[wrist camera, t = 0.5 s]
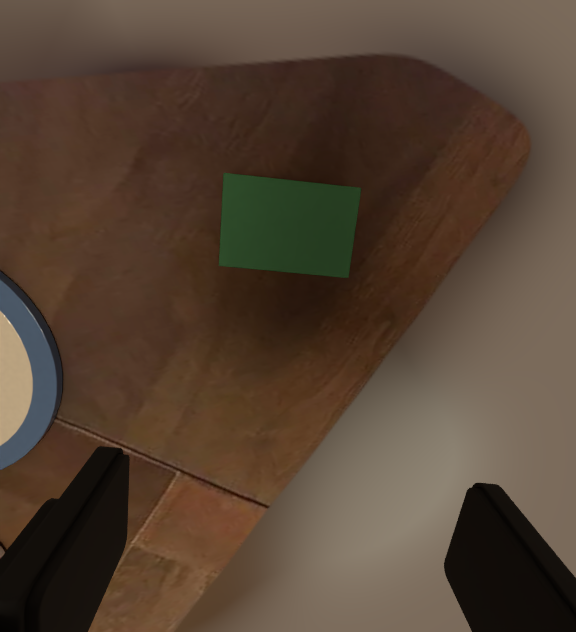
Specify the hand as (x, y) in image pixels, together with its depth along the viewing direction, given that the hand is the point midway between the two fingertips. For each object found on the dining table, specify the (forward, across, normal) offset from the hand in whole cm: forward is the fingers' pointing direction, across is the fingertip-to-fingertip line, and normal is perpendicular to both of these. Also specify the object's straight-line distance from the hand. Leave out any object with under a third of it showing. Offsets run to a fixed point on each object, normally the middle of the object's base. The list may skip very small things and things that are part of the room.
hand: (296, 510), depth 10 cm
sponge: (+17, +1, -7) cm, 18 cm away
